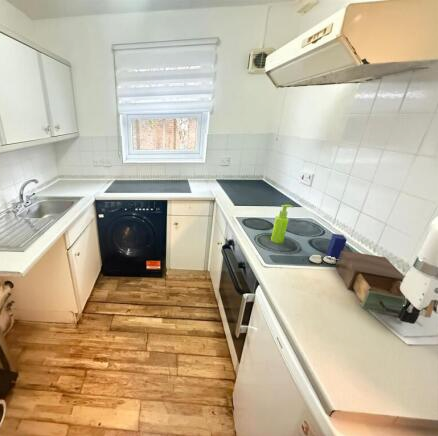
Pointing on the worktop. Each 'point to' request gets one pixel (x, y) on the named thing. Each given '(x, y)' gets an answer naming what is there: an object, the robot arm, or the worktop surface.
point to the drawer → (379, 293)
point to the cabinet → (364, 267)
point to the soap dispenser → (280, 225)
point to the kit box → (336, 245)
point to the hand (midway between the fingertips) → (405, 320)
